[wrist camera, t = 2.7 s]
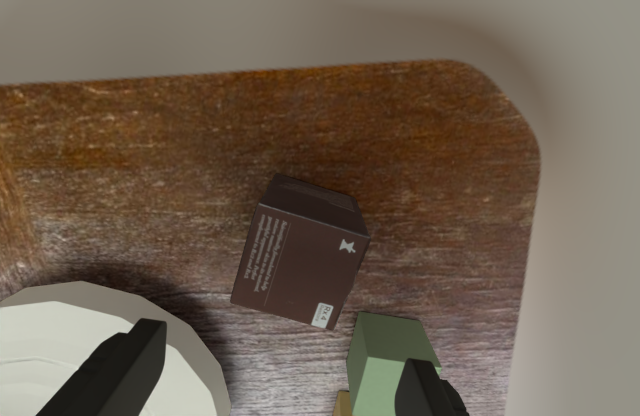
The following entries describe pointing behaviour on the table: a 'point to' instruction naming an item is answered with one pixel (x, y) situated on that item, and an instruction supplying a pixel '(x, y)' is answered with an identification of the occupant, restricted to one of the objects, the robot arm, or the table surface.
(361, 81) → the table surface
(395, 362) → the block
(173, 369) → the candle holder
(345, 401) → the block
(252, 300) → the box
